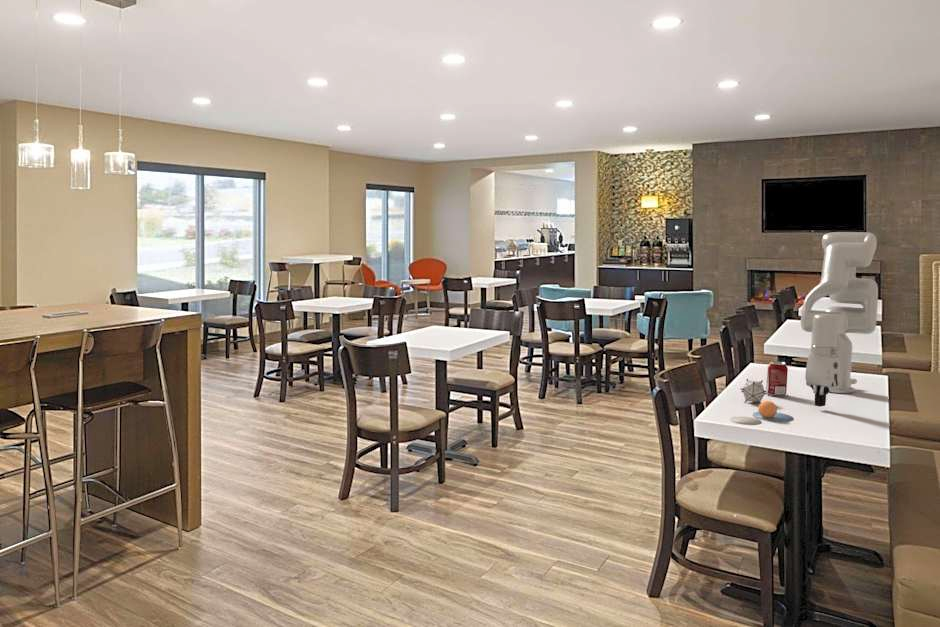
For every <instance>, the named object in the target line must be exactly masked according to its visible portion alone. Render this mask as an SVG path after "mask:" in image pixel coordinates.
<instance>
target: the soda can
mask: <svg viewBox="0 0 940 627" xmlns="http://www.w3.org/2000/svg"><path fill="white" fill-rule="evenodd" d="M766 369H767V370H766V371H767V372H766V387H765V389H766V390H765V391H767V392H765V393H767V394H766V395H768V396H770V395H772V396H771V397H775V396H782V397H784V396H786V395H787V388H788V371H789V370H788V366H787V362H785V361H775V360H774V361H769V364H768V365H767V368H766Z"/></svg>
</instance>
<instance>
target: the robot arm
mask: <svg viewBox="0 0 940 627" xmlns="http://www.w3.org/2000/svg"><path fill="white" fill-rule="evenodd" d="M877 244H878V243H877V237H876V235H875V234H874V233H873V232H865V231H864V232H863V231H860V232H859V231H858V232H856V231H835V232H833V231H832V232H828V233H825V234H824V235H823V236H822V239H821V246H822V249H823V251H824V254H823V262H822V268H821V269H822V270H821V277H820V282H819V284H817V285H816V286H814V288H812V289H811V290H810V291H809V292H808V294H807V295H806V297H805V298H804V300H803V303H802V309H801V316H800V327H801V329H802V330H803V331H804V332H807V333H811V344H810V345H811V346H810V347H811V348H810V353H809V355H808V358H807V362H806V367H805V381H806V383H805V384H806V386H808V387H810V388H811V389H812V392H813V394H814V406H815V407H825V406H826V403H827V395H828V394H829V393H834V394H852V393H854V392H855V388H854V387H852V386H851V385H856V384H857V383H858V380H857V379H856V378H852V377H851V373H852V372H851V371H852V370H851V369H852V359H853V358H852V357H853V343H852V341H851V339H850V338H849V337H848V336H847V334H857V335H859V334H860V335H861V334H862V335H870V334H873V333H874V332H875V331H876V326H877V316H878V299H879V287H878V284H877V282H876V281H875V280H874V279H872V278H866V277H863V278H861V277H860V278H859V277H856V274H857V268H867V267H869V266H870V264H872V261H873V258H874V255H875V252H876V249H877ZM828 296H829V299H830V301H832V303H838V304H848V305H849V304H851V305H860V306H862V307H854V306H853V307H852V306H836V305H834V306H830V307H827V308H826V309H825V310H812V309H813V307H814V305H815V304H816V302H818V301H819V300H820V299H822V298H825V297H828Z"/></svg>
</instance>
